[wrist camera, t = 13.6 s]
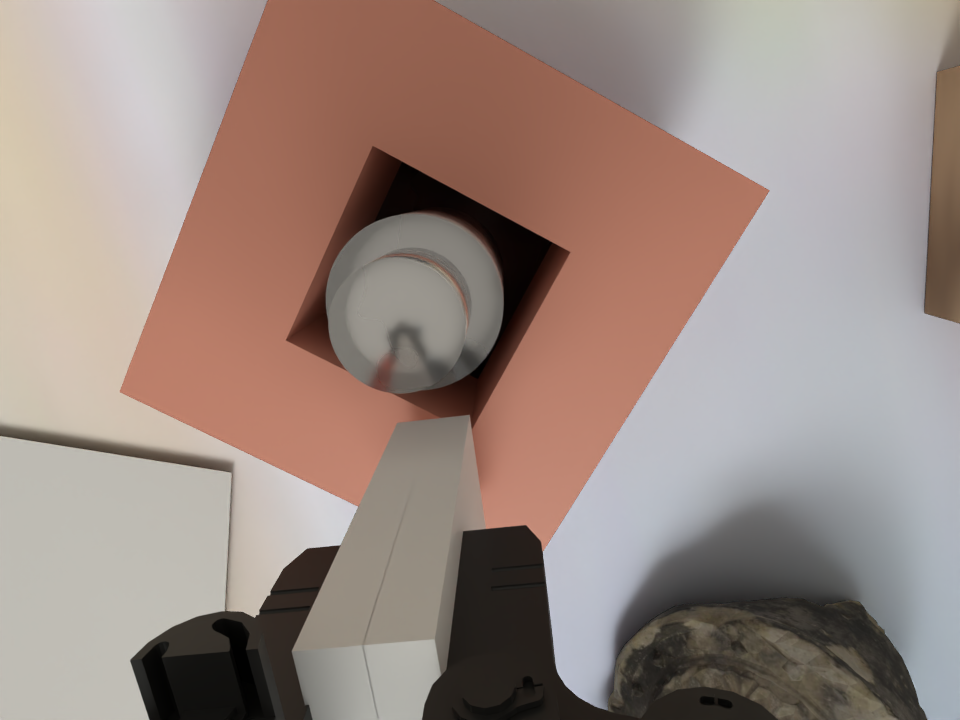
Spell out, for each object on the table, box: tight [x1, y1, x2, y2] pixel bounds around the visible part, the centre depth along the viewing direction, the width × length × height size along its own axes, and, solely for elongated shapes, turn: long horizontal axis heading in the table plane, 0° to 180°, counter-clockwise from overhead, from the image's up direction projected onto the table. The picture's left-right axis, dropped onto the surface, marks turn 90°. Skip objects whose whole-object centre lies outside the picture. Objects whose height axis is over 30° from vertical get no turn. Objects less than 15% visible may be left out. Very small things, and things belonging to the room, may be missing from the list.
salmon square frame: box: [120, 0, 770, 552], centre depth 15 cm, size 10×10×4 cm
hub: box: [326, 162, 552, 394], centre depth 15 cm, size 7×7×10 cm
